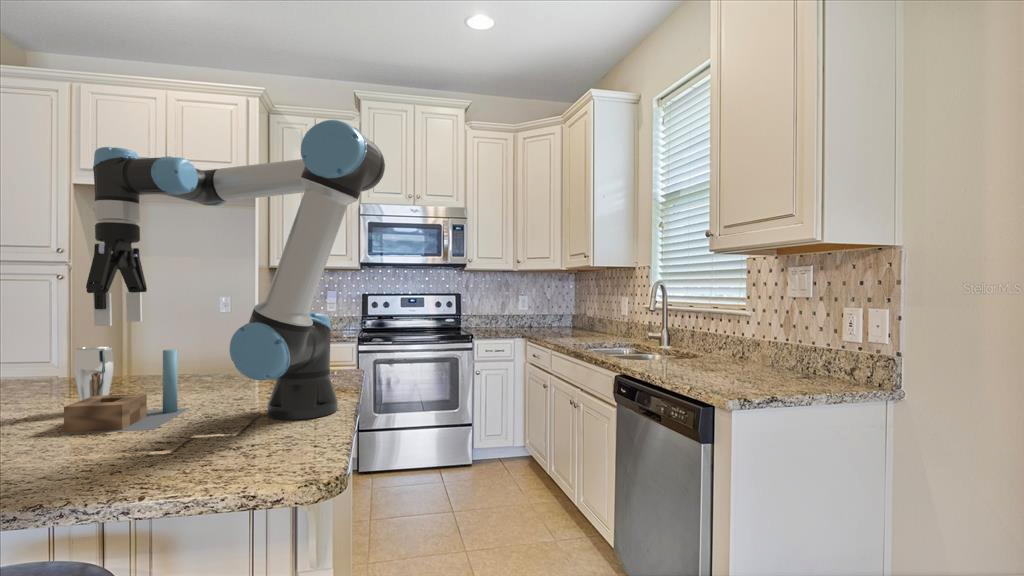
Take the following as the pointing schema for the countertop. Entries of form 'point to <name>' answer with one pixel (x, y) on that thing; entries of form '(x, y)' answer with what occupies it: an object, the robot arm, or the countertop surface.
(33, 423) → the countertop surface
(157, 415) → the mat
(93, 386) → the beer glass
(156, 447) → the countertop surface
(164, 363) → the dowel
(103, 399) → the wooden peg holder
